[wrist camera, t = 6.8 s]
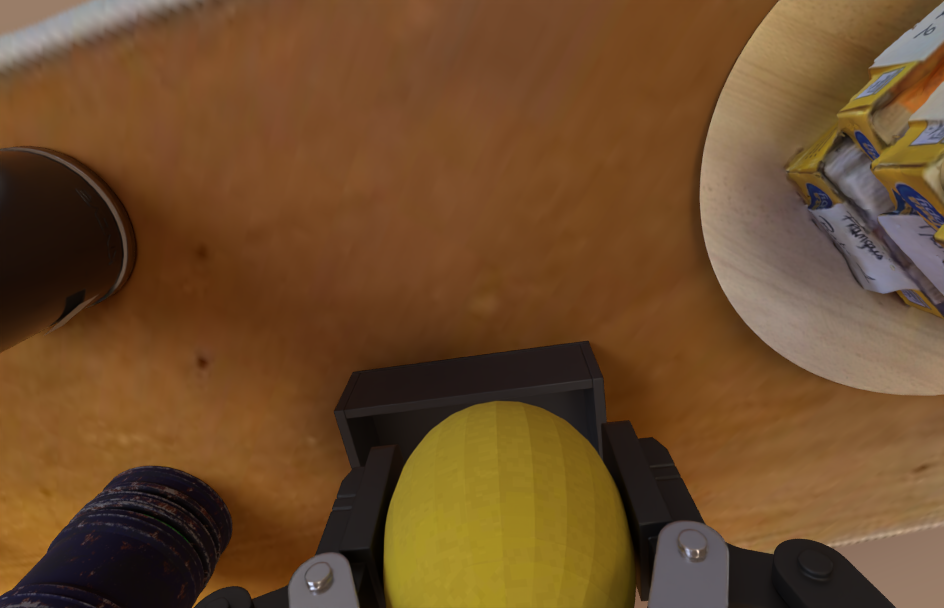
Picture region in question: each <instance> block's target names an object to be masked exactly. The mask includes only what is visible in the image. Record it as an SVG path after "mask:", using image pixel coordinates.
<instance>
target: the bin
mask: <svg viewBox="0 0 944 608" xmlns="http://www.w3.org/2000/svg"><path fill="white" fill-rule="evenodd" d="M493 401H513V402H522V403H525V404H529V405H533V406H537V407H540V408H543V409H545V410H547V411H549V412H551V413H553V414H555V415H556V416H558V417H560V418H562V419H564V420H566V421H567V422H568V423H569V424H571V425H572V426H573V427H574V428H575V429H576V430H577V431H578V432H579V433H580V434H581V435H583V436H584V437H585V438H586V439H587V440H588V441H589V442H590V443H591V445H592V446H593V447H594V448H595V450H596V451H597V453H598V455H599V456H600V458H601V459H602V461H603V451H602V435H601V424H602V423H607V418H606V405H605V393H604V380H603V376H602V373H601V371H600V369H599V366H598V364H597V361H596V359H595V356H594V354H593V351H592V349H591V347H590V344H589V341H583V342H575V343H568V344H560V345H553V346H545V347H538V348H530V349H523V350H515V351H507V352H500V353H492V354H485V355H477V356H470V357H462V358H455V359H447V360H440V361H432V362H425V363H417V364H410V365H402V366H395V367H387V368H380V369H372V370H365V371H357V372H352V375H351V377H350V379H349V381H348V383H347V385H346V387H345V390H344V392H343V394H342V396H341V398H340V400H339V402H338V404H337V406H336V408H335V410H334V414H335V417H336V420H337V424H338V427H339V430H340V433H341V436H342V439H343V443H344V446H345V449H346V452H347V455H348V459H349V462H350V465H351V468H352V469H353V468H354V467H363V466H365V465H366V462H367V458H368V455H369V452H370V449H371V448H372V447H377V446H386V445H396V444H398V445H399V446H400V449H401V452H402V456H403V460H404V464H406V462H407V460H408V458H409V457H410V455H411V454H412V453H413V451H414V450H415V449H416V447H417V446H418V445H419V444H420V442H421V441H422V440H423V438H424V437H425V436H426V435H427V434H428V433H429V432H430V431H431V430H432V429H433V428H434V427H435V426H437V425H438V424H439V423H441V422H442V421H444V420H445V419H446V418H448V417H449V416H450V415H452V414H454V413H456V412H459V411H461V410H463V409H466V408H468V407H470V406H473V405H476V404H481V403H487V402H493Z"/></svg>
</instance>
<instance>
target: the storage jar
mask: <svg viewBox="0 0 944 608" xmlns="http://www.w3.org/2000/svg"><path fill="white" fill-rule="evenodd" d="M231 535H232V520H231V516H230V513H229V511H228V508H227V506H226V505H225V503H224V502H223V500H222V499H221V498H220V497H219V496H218V494H217V493H216V492H215V491H214V490H213V489H211V488H210V487H209V486H208V485H207V484H205V483H204V482H202V481H201V480H199V479H197V478H195V477H193V476H192V475H190V474H187V473H184V472H182V471H179V470H176V469H172V468H167V467H160V466H144V467H137V468H133V469H129V470H127V471H125V472H122V473H120V474H119V475H118V476H116V477H115V478H114V479H113V480H112V481H111V482H110V483H109V484H108V485H107V486H106V487H105V488H104V490H103V491H102V492H101V493H100V494H98V495H97V496H96V497H95V498H94V499H93V500H92V501H90V502H89V503H87V504H86V505H85V506H84V507H83V508H82V509H81V510H80V511H79V512H78V513H77V514H76V515H75V517H74V518H73V519H72V520H71V521H70V522H69V524H68V525H67V526H66V527H65V528H64V529H63V530H62V531H61V532H60V533H59V535H58V536H57V537H56V538H55V539H54V540H53V541H52V543H51V544H50V546H49V548H48V551H47V554H46V555H45V556H44V557H43V558H42V559H41V560H40V561H39V562H38V563H37V564H36V565H35V566H34V567H33V568H32V569H31V570H30V571H29V573H28V574H27V575H26V576H25V577H24V578H23V579H22V580H21V581H20V582H19V583H18V584H17V585H16V586H15V587H14V588H13V589H12V590H10V591H8V592H6V593H4V594H3V595H1V596H0V608H192V606H193V605H194V603H195V601H196V600H197V598H198V596H199V594H200V593H201V592H202V591H203V589H204V588H205V587H206V585H207V583H208V581H209V579H210V578H211V576H212V574H213V572H214V570H215V567H216V564H217V562H218V560H219V558H220V555H221V554H222V553H223V551H224V550H225V548H226V547H227V545H228V543H229V541H230V538H231Z"/></svg>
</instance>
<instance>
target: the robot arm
mask: <svg viewBox="0 0 944 608" xmlns="http://www.w3.org/2000/svg"><path fill="white" fill-rule="evenodd" d="M134 260H135V239H134V233H133V230H132V226H131V223H130V221H129V218H128V216H127V214H126V211H125V209H124V208H123V206H122V204H121V202H120V201H119V200H118V198H117V197H116V195H115V194H114V193H113V191H112V190H111V189H110V188H109V187H108V185H107V184H106V183H105V182H104V181H103V180H102V179H101V178H100V177H99V176H97V175H96V174H95V173H94V172H93V171H91V170H90V169H89V168H87V167H86V166H84V165H83V164H82V163H80V162H78V161H76V160H75V159H73V158H71V157H69V156H67V155H65V154H62V153H59V152H57V151H54V150H50V149H46V148H41V147H33V146H20V147H12V148H3V149H0V353H2V352H3V351H5V350H7V349H9V348H11V347H13V346H15V345H17V344H18V343H20V342H22V341H24V340H26V339H28V338H30V337H32V336H33V335H35V334H37V333H39V332H41V331H43V330H45V329H47V328H48V327H50V326H52V325H54V324H56V323H58V322H59V323H58V324H57V325H55V326H54V327H53V328H52V329H51V330H50V331H49V332H47V333H46V334H48V333H50V332H52V331H54V330H55V329H57V328H59V327H61V326H63V325H64V324H65V323H67V322H68V321H69V320H70V319H71V318H72V317H73V316H75V315H76V314H77V313H78V312H79V311H81V310H83V309H85V308H87V307H90V306H93V305H95V304H98V303H99V302H101V301H103V300H105V299H107V298H109V297H110V296H112V295H114V294H115V293H116V292H117V291H119V290H120V289H121V288H122V286H123V285H124V284H125V283H126V281H127V280H128V278H129V276H130V274H131V271H132V269H133V265H134ZM46 334H45V335H46ZM45 335H44V336H45ZM601 435H602V451H603V463H604V464H605V466H606V468H607V469H608V471H609V473H610V474H611V476H612V477H613V479H614V481H615V483H616V485H617V487H618V490H619V493H620V495H621V498H622V501H623V504H624V508H625V512H626V516H627V520H628V524H629V529H630V533H631V537H632V543H633V548H634V557H635V568H636V586H637V589H638V592H639V595H640V598H641V601H648V606H647V608H896V607H895V606H894V605H893V604H892V603H891V602H890V601H889V600H888V599H887V598H886V597H885V596H884V595H883V594H882V593H881V592H880V591H879V590H878V589H877V588H876V587H874V586H873V585H872V584H871V583H870V582H869V581H868V580H867V579H866V578H865V577H864V576H863V575H862V574H861V573H860V572H859V571H858V570H857V569H856V568H855V567H854V566H853V565H852V564H851V563H850V562H849V561H848V560H847V559H846V558H845V557H844V556H842V555H841V554H840V553H839V552H837V551H836V550H834V549H832V548H830V547H829V546H826V545H824V544H822V543H819V542H816V541H812V540H808V539H791V540H787V541H784V542H782V543H781V544H779V545H778V546H777V547H776V549H775V551H774V554H769V553H763V552H757V551H752V550H747V549H742V548H739V547H736V546H733V545H731V544H729V543H727V542H725V540H724V539H723V538H722V536H721V535H720V534H719V533H718V532H717V531H715V530H714V529H712V528H711V527H709V526H707V525H706V524H705V522H704V521H703V519H702V517H701V515H700V513H699V511H698V509H697V507H696V505H695V503H694V501H693V499H692V497H691V495H690V493H689V491H688V489H687V487H686V485H685V483H684V481H683V479H682V478H681V477H680V474H679V472H678V470H677V468H676V466H675V465H674V462H673V460H672V458H671V456H670V454H669V452H668V450H667V449H666V448H665V447H664V446H663V445H661V444H660V443H659V442H658V441H657V440H655V439H654V438H653V437H650V438H640V439H638V438H637V436H636V434H635V431H634V429H633V427H632V425H631V422H630V421H629V420H627V421H618V422H608V423H602V424H601ZM404 466H405V464H404V460H403V456H402V452H401V449H400V446H399V445H398V444H396V445H386V446H377V447H372V448H371V449H370V452H369V455H368V458H367V462H366V465H365V466H363V467H354V468H353V469H352V470H351V472H350V473H349V474H348V475H347V476H346V477H345V479H344V480H343V481H342V483H341V486H340V488H339V491H338V494H337V499H335V502H334V505H333V508H332V512H331V513H330V516H329V519H328V521H327V524H326V527H325V530H324V532H323V535H322V538H321V541H320V543H319V546H318V549H317V551H316V554H315V556H314V557H312V558H310V559H308V560H307V561H305V562H304V563H303V564H302V565H301V566H300V567H299V568H298V569H297V570H296V571H295V572H294V574H293V575H292V577H291V579H290V582H289V584H288V585H287V586H285V587H282V588H280V589H278V590H275V591H272V592H270V593H267V594H264V595H262V596H259V597H256V598H254V599H251V596H250V594H249V593H248V591H247V590H246V589H244V588H242V587H238V586H231V587H226V588H222V589H219V590H217V591H215V592H213V593H211V594H210V595H208V596H207V597H205V598H204V599H203V600H201V601H200V602H199V603H198V604H197V605H196V606H195V607H194V608H386V604H385V597H384V584H383V555H384V536H385V525H386V518H387V513H388V509H389V505H390V501H391V499H392V496H393V493H394V491H395V488H396V486H397V483H398V480H399V478H400V475H401V473H402V470H403V468H404Z"/></svg>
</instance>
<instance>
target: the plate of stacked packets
mask: <svg viewBox="0 0 944 608" xmlns="http://www.w3.org/2000/svg"><path fill="white" fill-rule="evenodd" d="M700 211H701V221H702V229H703V235H704V240H705V244H706V248H707V252H708V255H709V258H710V261H711V264H712V267H713V269H714V272H715V274H716V277H717V279H718V281H719V283H720V285H721V287H722V289H723V291H724V293H725V295H726V296H727V298H728V300H729V301H730V303H731V304H732V306H733V307H734V309H735V310H736V311H737V313H738V314H739V315H740V317H741V318H742V319H743V320H744V322H745V323H746V324H747V325H748V326H749V327H750V328H751V329H752V330H753V331H754V332H755V333H756V334H757V335H758V336H759V337H760V338H761V339H762V340H763V341H764V342H765V343H766V344H768V345H769V346H770V347H771V348H773V349H774V350H775V351H777V352H778V353H779V354H781V355H782V356H784V357H785V358H787V359H788V360H790V361H791V362H793V363H795V364H796V365H798V366H800V367H802V368H804V369H806V370H808V371H810V372H812V373H814V374H816V375H818V376H821V377H823V378H826V379H828V380H831V381H834V382H837V383H840V384H844V385H847V386H851V387H854V388H859V389H863V390H868V391H873V392H880V393H888V394H899V395H942V394H944V0H779V1H778V3H777V4H776V5H775V6H774V7H773V8H772V10H771V11H770V12H769V13H768V15H767V16H766V17H765V19H764V20H763V21H762V23H761V24H760V25H759V27H758V28H757V29H756V31H755V32H754V34H753V35H752V37H751V38H750V40H749V41H748V43H747V44H746V46H745V48H744V49H743V51H742V53H741V54H740V56H739V58H738V60H737V61H736V63H735V65H734V67H733V69H732V71H731V73H730V75H729V77H728V79H727V81H726V83H725V85H724V88H723V90H722V92H721V95H720V97H719V100H718V102H717V105H716V108H715V111H714V114H713V116H712V120H711V123H710V127H709V131H708V135H707V138H706V143H705V148H704V153H703V160H702V167H701V177H700Z"/></svg>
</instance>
